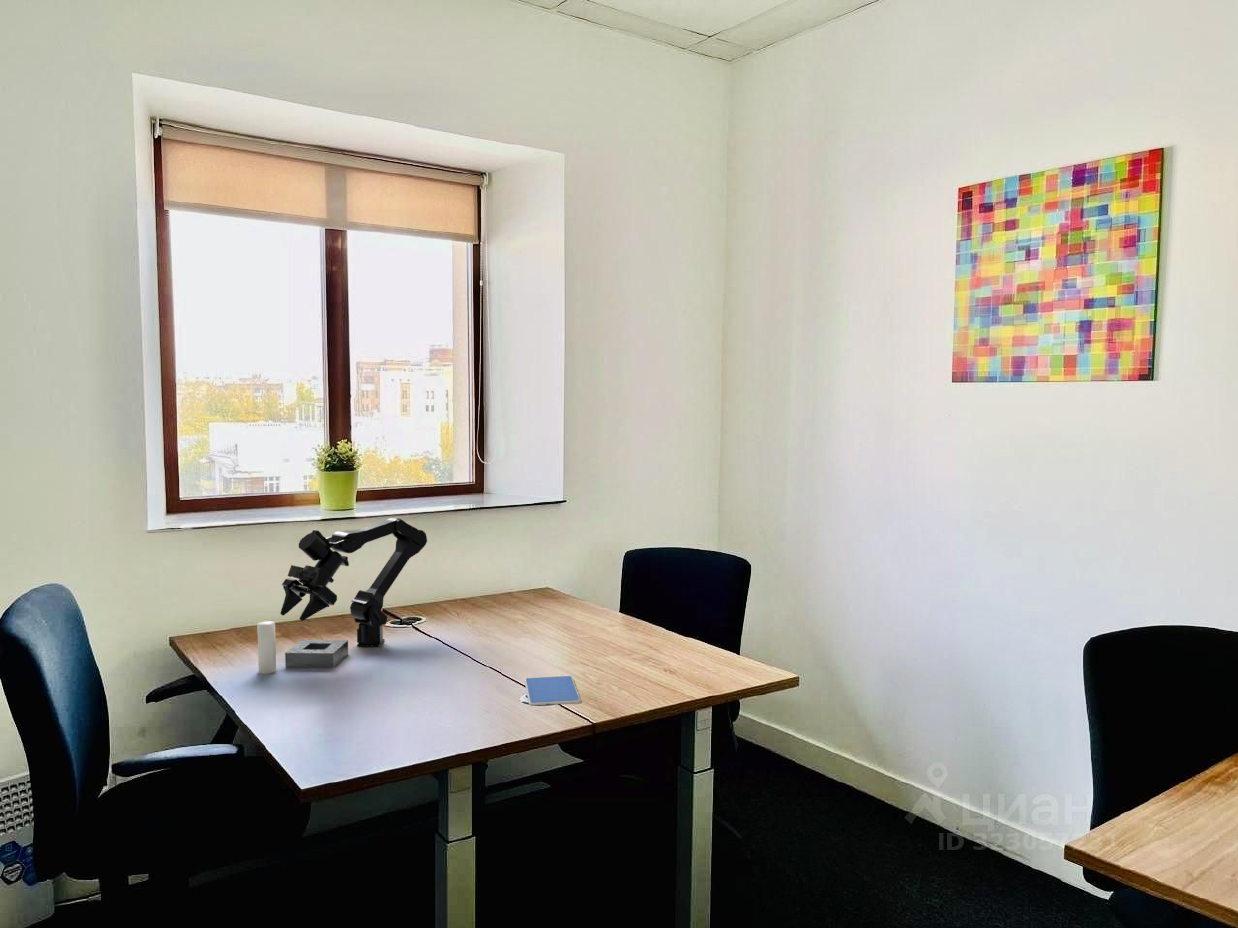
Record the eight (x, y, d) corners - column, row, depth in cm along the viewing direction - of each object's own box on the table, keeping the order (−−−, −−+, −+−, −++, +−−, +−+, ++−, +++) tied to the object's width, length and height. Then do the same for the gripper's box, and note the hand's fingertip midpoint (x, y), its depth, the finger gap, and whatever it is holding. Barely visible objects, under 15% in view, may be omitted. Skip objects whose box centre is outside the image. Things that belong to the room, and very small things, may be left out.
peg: (278, 668, 247) (277, 621, 246) (272, 673, 242) (271, 625, 241) (262, 668, 247) (261, 621, 246) (255, 673, 242) (254, 625, 241)
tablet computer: (581, 705, 221) (581, 699, 221) (529, 708, 219) (528, 702, 219) (572, 680, 240) (572, 675, 240) (524, 682, 238) (524, 677, 238)
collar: (348, 653, 261) (348, 640, 261) (333, 667, 248) (333, 653, 248) (302, 653, 261) (302, 639, 261) (285, 667, 248) (285, 652, 248)
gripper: (286, 549, 258) (251, 596, 250) (325, 557, 246) (290, 606, 239) (312, 572, 265) (279, 618, 257) (351, 580, 253) (318, 628, 246)
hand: (291, 617), depth 250 cm, fingers open, 9 cm apart
